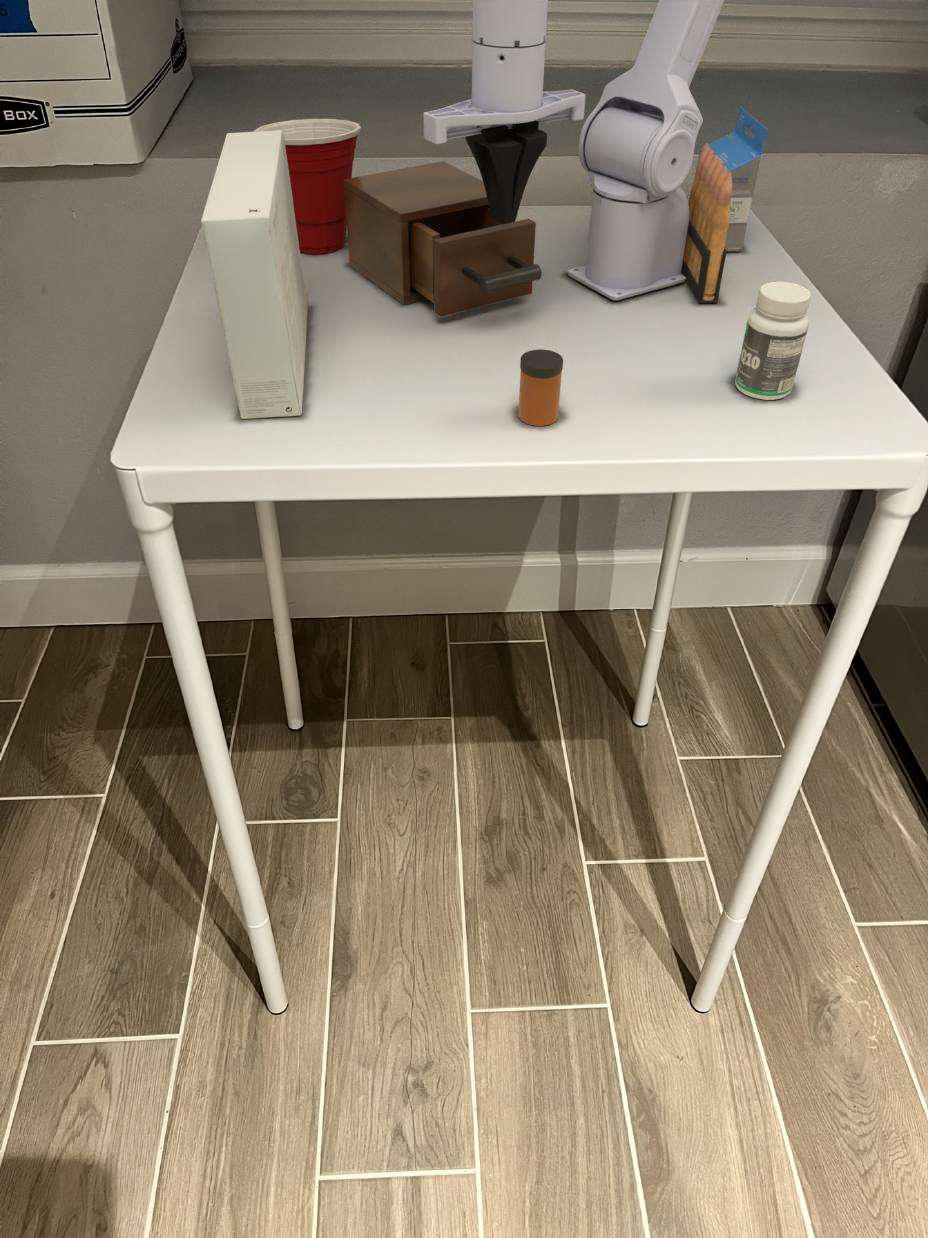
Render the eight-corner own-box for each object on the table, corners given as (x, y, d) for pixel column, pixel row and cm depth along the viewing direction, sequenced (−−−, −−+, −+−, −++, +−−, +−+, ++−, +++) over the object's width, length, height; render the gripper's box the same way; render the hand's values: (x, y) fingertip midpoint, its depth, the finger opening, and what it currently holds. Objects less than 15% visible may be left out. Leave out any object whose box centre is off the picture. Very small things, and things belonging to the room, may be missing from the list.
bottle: (542, 402, 79) (546, 345, 76) (566, 419, 77) (572, 361, 74) (509, 412, 78) (512, 355, 75) (533, 430, 76) (536, 372, 73)
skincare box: (251, 309, 92) (225, 129, 82) (308, 307, 93) (290, 128, 82) (233, 421, 77) (198, 216, 66) (301, 418, 77) (278, 214, 66)
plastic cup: (349, 220, 110) (341, 105, 103) (381, 253, 103) (375, 132, 95) (256, 234, 107) (240, 116, 99) (283, 268, 100) (268, 144, 92)
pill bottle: (729, 374, 83) (749, 278, 78) (784, 375, 83) (808, 279, 78) (739, 401, 80) (761, 302, 74) (797, 402, 80) (823, 303, 74)
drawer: (558, 309, 91) (564, 236, 86) (465, 334, 87) (465, 259, 82) (474, 258, 100) (475, 189, 96) (386, 278, 96) (382, 208, 91)
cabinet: (503, 280, 98) (506, 192, 92) (403, 305, 93) (400, 213, 88) (444, 244, 105) (443, 160, 100) (349, 265, 101) (343, 178, 95)
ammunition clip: (717, 303, 94) (742, 174, 86) (698, 304, 94) (721, 174, 86) (693, 261, 102) (713, 139, 94) (676, 261, 102) (695, 139, 94)
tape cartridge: (686, 224, 110) (705, 105, 102) (719, 223, 111) (740, 105, 103) (709, 253, 104) (731, 129, 96) (744, 252, 104) (769, 128, 96)
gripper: (554, 21, 80) (544, 192, 89) (402, 40, 74) (407, 220, 83) (607, 37, 76) (590, 214, 85) (449, 58, 70) (449, 246, 79)
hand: (503, 219), depth 84 cm, fingers closed
